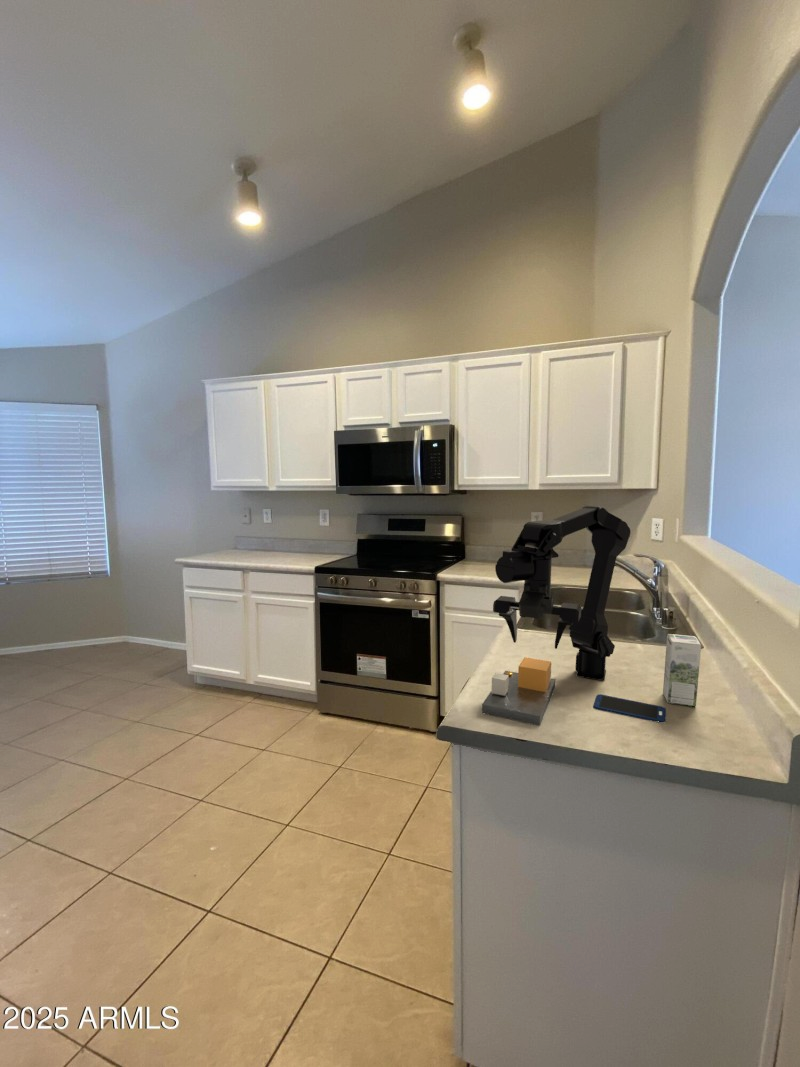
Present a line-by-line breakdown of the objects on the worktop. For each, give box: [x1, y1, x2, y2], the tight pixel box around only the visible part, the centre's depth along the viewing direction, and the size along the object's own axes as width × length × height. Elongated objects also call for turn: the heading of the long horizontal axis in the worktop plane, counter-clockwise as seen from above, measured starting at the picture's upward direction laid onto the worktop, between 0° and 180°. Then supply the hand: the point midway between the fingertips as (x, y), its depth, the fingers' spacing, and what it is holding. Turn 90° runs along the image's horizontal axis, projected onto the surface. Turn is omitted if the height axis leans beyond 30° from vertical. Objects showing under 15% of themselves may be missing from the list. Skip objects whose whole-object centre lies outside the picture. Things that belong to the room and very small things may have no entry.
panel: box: [481, 670, 556, 726], centre depth 112 cm, size 12×20×2 cm, turn 154°
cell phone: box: [592, 694, 667, 723], centre depth 108 cm, size 7×14×1 cm, turn 61°
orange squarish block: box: [517, 656, 552, 692], centre depth 115 cm, size 6×6×5 cm
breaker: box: [490, 672, 509, 696], centre depth 110 cm, size 3×3×4 cm
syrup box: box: [662, 633, 702, 707], centre depth 111 cm, size 6×6×14 cm
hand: (535, 645), depth 114 cm, fingers open, 9 cm apart
